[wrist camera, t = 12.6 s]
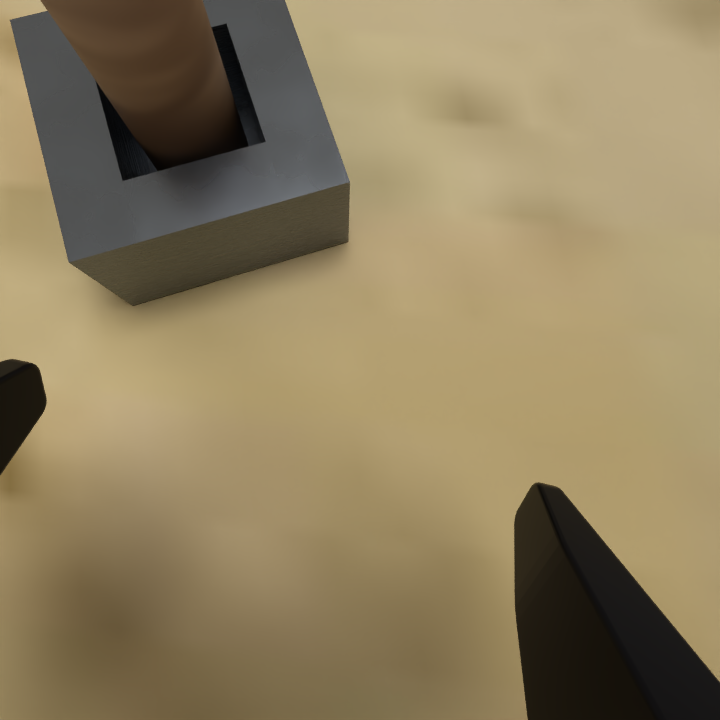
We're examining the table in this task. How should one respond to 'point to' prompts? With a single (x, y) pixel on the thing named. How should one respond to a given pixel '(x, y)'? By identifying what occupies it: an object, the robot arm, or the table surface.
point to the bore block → (195, 179)
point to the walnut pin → (157, 73)
